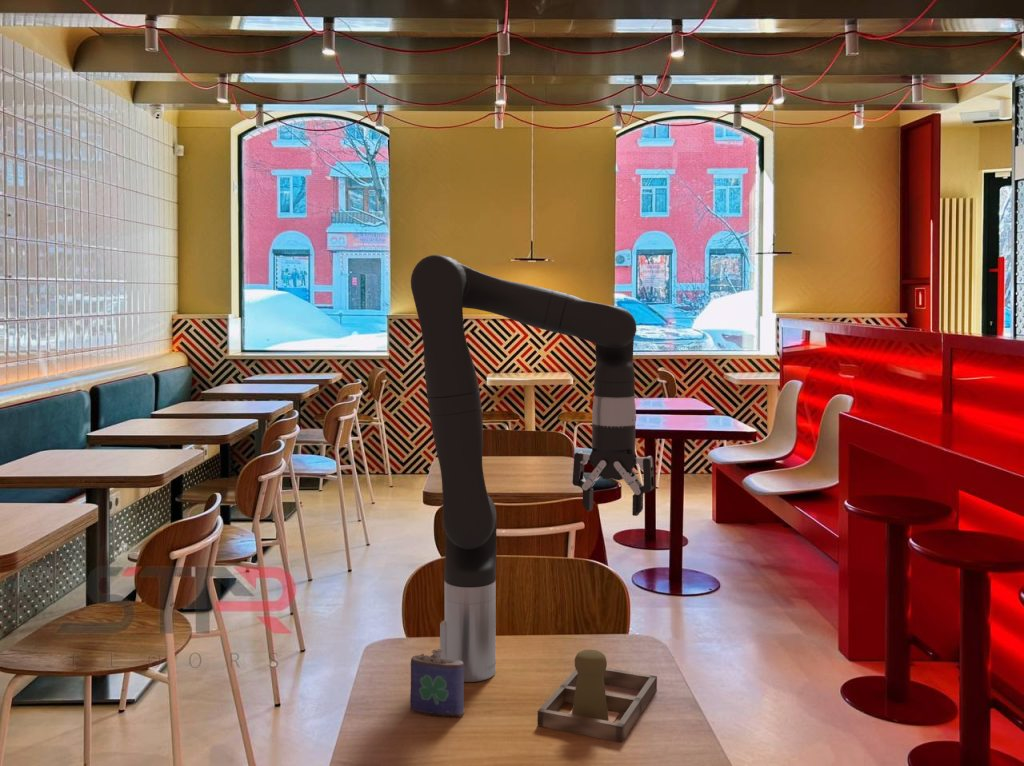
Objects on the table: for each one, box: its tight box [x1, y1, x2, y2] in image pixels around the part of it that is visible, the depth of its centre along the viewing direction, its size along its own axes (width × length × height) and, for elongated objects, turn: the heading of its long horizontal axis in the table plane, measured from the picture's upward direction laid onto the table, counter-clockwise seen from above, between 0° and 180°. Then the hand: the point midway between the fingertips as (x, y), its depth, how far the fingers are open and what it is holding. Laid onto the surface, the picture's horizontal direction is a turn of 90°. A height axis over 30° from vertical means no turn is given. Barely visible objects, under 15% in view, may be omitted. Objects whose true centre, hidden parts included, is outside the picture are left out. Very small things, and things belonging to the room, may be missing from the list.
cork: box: [571, 649, 609, 721], centre depth 155 cm, size 6×6×11 cm
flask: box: [409, 648, 465, 719], centre depth 157 cm, size 9×3×11 cm, turn 74°
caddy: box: [537, 667, 658, 743], centre depth 160 cm, size 14×21×2 cm, turn 157°
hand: (612, 512), depth 169 cm, fingers open, 8 cm apart
